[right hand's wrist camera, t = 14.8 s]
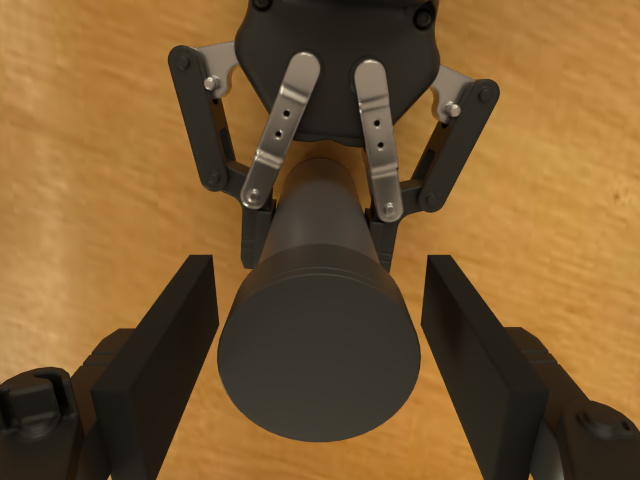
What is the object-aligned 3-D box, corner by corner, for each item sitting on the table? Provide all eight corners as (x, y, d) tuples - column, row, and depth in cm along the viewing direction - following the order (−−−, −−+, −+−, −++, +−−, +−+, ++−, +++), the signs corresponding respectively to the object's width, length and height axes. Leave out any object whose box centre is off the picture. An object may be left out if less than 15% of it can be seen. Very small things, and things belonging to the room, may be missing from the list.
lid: (224, 380, 13) (208, 429, 11) (241, 229, 11) (226, 257, 10) (384, 402, 14) (394, 453, 12) (425, 258, 12) (445, 291, 10)
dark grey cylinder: (278, 220, 27) (225, 410, 12) (289, 151, 26) (242, 264, 10) (347, 232, 28) (383, 431, 12) (361, 164, 26) (424, 292, 10)
